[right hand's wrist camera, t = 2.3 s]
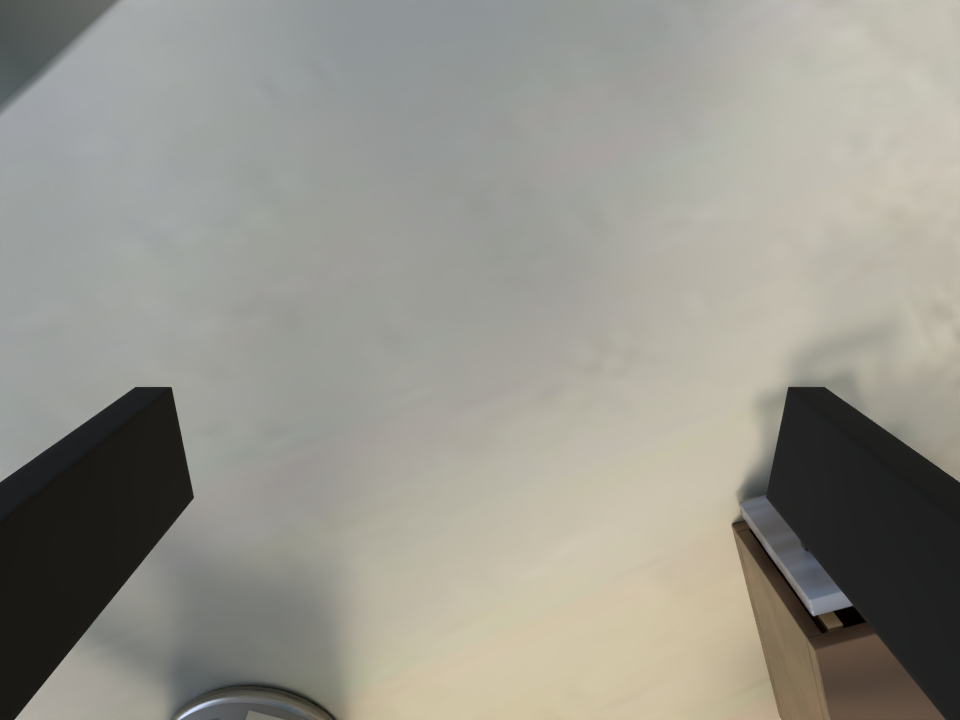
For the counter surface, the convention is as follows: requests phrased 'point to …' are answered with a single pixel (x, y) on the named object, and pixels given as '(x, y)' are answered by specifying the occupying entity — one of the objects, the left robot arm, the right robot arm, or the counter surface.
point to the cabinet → (823, 655)
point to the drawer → (799, 568)
